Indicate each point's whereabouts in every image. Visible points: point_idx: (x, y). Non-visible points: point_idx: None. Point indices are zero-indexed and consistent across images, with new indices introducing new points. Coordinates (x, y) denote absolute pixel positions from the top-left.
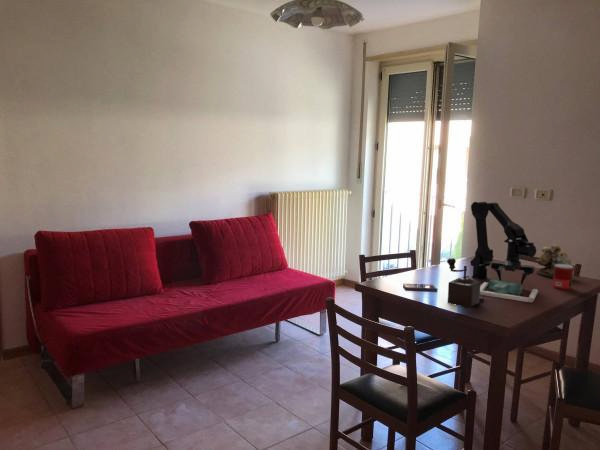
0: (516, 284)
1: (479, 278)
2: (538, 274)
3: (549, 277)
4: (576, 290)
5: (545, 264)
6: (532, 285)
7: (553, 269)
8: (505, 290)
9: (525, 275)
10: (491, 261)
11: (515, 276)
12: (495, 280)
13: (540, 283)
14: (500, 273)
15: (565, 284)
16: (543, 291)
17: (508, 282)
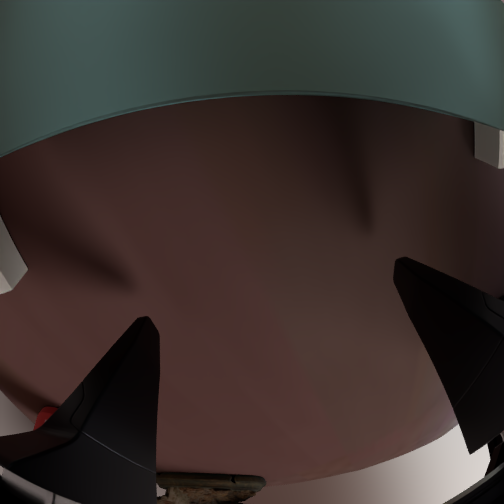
0: (10, 69)
1: (501, 299)
2: (252, 476)
3: (203, 475)
4: (31, 412)
5: None
6: (170, 411)
7: (205, 501)
8: None
9: (16, 438)
10: (497, 445)
11: (321, 444)
12: (490, 70)
13: (172, 441)
14: (502, 339)
15: (34, 428)
16: (30, 338)
17: (219, 51)
